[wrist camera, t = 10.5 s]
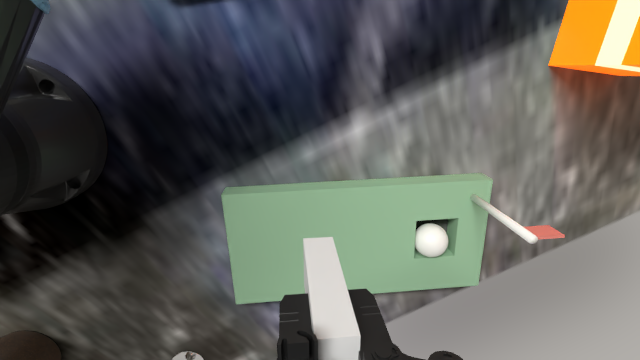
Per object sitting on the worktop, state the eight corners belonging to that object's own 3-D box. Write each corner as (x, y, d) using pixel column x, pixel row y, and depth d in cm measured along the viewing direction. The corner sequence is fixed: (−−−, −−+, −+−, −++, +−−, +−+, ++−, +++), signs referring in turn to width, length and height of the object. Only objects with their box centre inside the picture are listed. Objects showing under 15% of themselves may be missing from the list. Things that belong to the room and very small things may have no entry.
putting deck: (239, 291, 43) (218, 376, 31) (225, 187, 38) (195, 240, 26) (475, 273, 45) (541, 347, 33) (489, 172, 40) (571, 216, 28)
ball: (406, 250, 42) (425, 266, 38) (407, 221, 41) (426, 234, 37) (433, 244, 43) (454, 259, 39) (435, 215, 42) (457, 228, 38)
